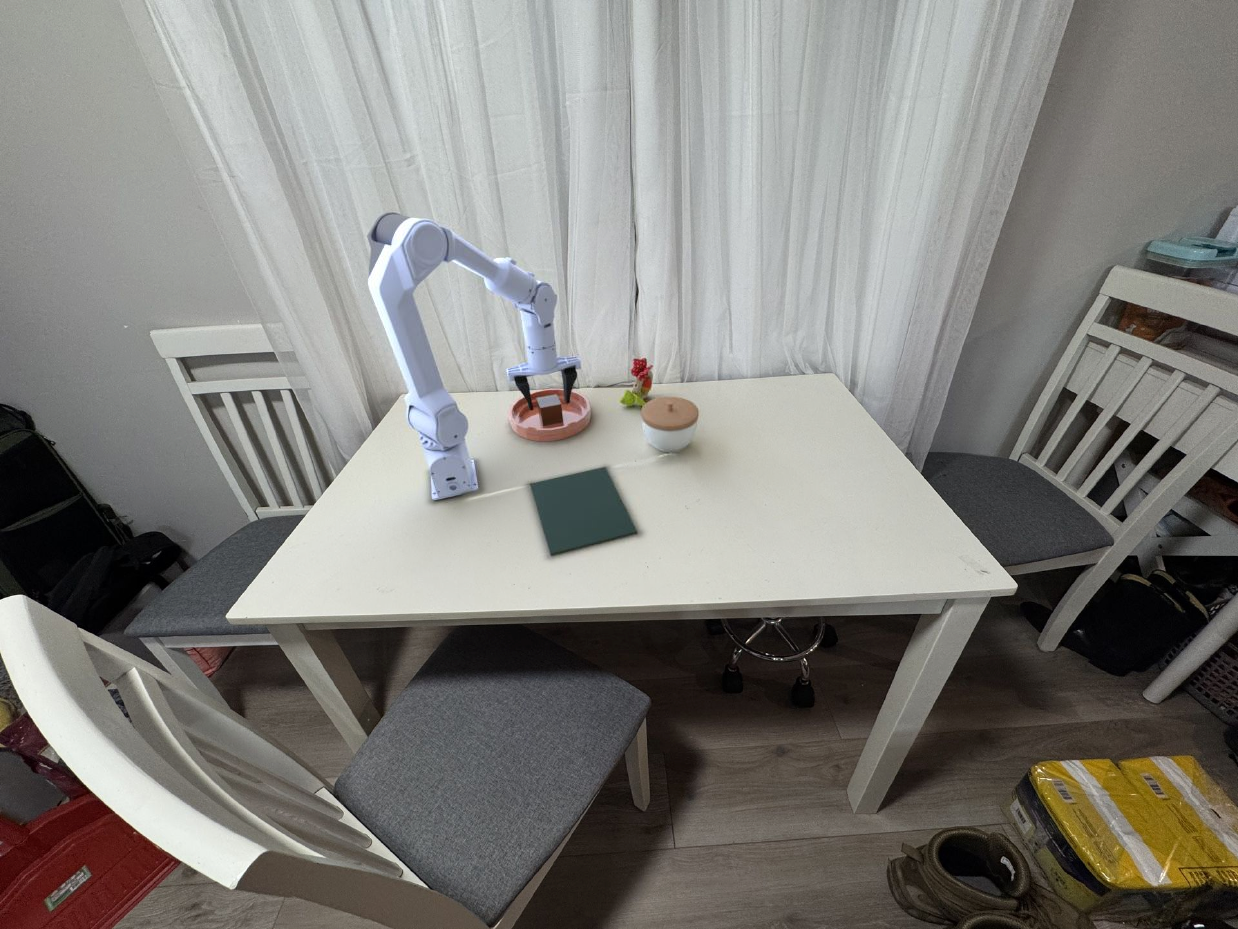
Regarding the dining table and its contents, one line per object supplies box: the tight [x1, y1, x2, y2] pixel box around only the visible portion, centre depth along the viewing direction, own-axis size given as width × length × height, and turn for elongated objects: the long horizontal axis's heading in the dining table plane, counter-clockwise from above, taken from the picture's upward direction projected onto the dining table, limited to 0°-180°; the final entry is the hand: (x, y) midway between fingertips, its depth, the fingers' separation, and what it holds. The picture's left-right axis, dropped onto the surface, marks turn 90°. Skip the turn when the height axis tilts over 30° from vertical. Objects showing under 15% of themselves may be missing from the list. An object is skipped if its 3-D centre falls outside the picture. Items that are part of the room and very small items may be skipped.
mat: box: [530, 466, 638, 556], centre depth 87 cm, size 18×14×1 cm
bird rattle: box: [619, 357, 654, 408], centre depth 112 cm, size 6×11×9 cm
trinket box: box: [640, 396, 699, 454], centre depth 98 cm, size 11×11×9 cm
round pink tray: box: [508, 388, 592, 443], centre depth 109 cm, size 17×17×3 cm
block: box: [536, 394, 563, 426], centre depth 108 cm, size 4×4×4 cm
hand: (549, 404), depth 107 cm, fingers open, 7 cm apart
